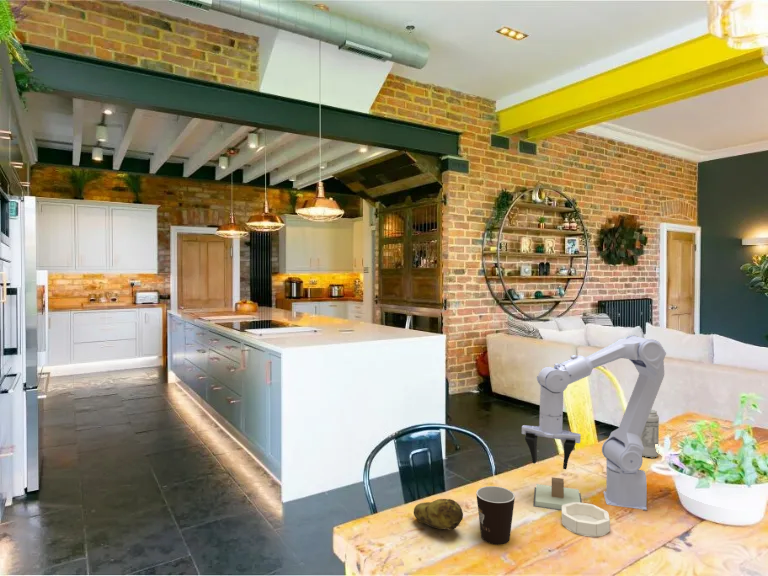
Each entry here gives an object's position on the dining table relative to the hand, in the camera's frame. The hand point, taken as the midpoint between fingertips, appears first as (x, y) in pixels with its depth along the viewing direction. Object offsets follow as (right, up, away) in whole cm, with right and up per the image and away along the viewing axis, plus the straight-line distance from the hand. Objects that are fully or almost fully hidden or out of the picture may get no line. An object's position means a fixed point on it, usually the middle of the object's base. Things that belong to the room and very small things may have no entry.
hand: (549, 465), depth 128 cm
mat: (+3, -10, +2) cm, 11 cm away
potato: (-31, -11, -12) cm, 35 cm away
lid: (+3, -10, +2) cm, 10 cm away
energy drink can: (+44, -9, +34) cm, 57 cm away
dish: (+5, -11, -12) cm, 16 cm away
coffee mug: (-18, -11, -15) cm, 25 cm away
